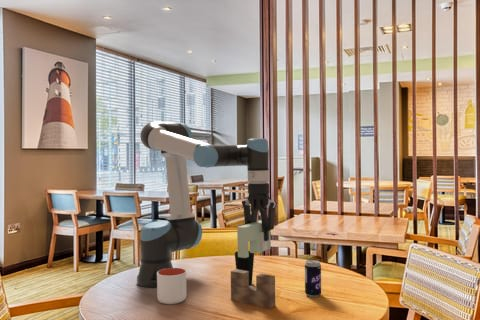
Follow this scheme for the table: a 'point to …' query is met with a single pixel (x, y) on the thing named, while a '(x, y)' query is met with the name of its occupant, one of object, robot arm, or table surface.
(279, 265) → the table surface
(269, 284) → the walnut stand
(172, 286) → the cup
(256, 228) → the sage plate
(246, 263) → the cup
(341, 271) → the table surface
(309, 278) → the beverage can
